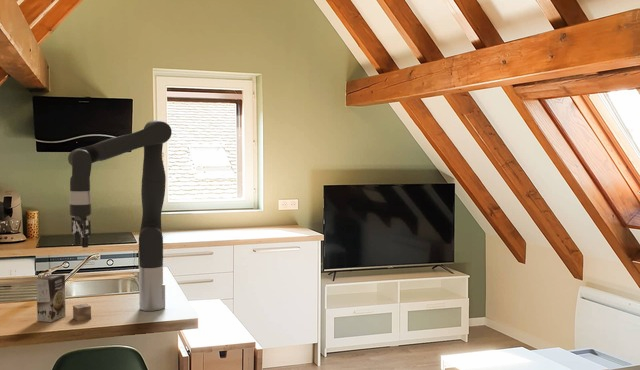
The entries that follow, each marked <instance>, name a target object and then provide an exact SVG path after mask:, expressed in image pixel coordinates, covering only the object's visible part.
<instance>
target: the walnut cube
mask: <svg viewBox="0 0 640 370" xmlns="http://www.w3.org/2000/svg"><path fill="white" fill-rule="evenodd" d="M72 319H73V320H75V321H77V322H81V321H89V320H92V306H91V305H89V304H88V303H82V304H75V305H72Z"/></svg>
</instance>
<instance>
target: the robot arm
mask: <svg viewBox="0 0 640 370" xmlns="http://www.w3.org/2000/svg"><path fill="white" fill-rule="evenodd" d="M171 136H172V128H171V126H170V124H168V123H167V122H166V121H164V120H163V121H162V120H150V121H147V123H146V124H145V125H144V127H143V129H140V130H139V131H136V132H131V133H129V134H123V135H120V136H116V137H115V136H114V137H112V138H108V139H105V140H101V141H99V142H96V143H94V144H91V145H87V146H83V147H79V148H76V149H74V150H72V151H71V152H70V153H69V154H68V156H67V161H68V163H69V164H70V166H71V176H70V180H69V187H70V188H69V215H70V218H71V220H70V221H71V227H70V228H71V231H70V232H71V233H72V235H73V244H74V245H81V248H84V249H85V248H88V247H89V237H91V235H92V231H91V230H92V229H91V220H90V219H87V218H88V217H89V216H91V215H92V194H91V172H92V165H93V163H96V162H103V161H107V160H109V159H111V158H115V157H117V156H120V155H122V154H125V153H128V152H130V151H131V152H132V151H134V150H137V149H140V148H143V163H142V175H141V189H140V191H141V208H142V215H141V224H140V230H139V234H138V266H139V267H138V268H139V270H138V271H139V273H138V275H139V276H138V277H139V278H138V279H139V280H138V281H139V283H138V285H139V286H138V287H139V290H138V291H139V310H141V311H144V312H145V311H146V312H152V311H153V312H154V311H160V310H162V309H165V308H166V285H165V284H164V271H163V270H164V237H163V231H162V211H163V206H164V201H165V195H166V185H167V184H166V181H167V179H166V177H167V176H166V171H165V165H164V161H163V145H164V144H165V143H167V142H168V141H169V140H170V139H171Z"/></svg>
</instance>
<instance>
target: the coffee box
mask: <svg viewBox="0 0 640 370" xmlns="http://www.w3.org/2000/svg"><path fill="white" fill-rule="evenodd" d="M36 313H37V314H36V316H37V317H36V319H37V320H36V321H37V322H46V323H53V322H55V321H57V320H59V319H61V318H64V317H65V316H66V274H58V273H57V274H56V273H55V274H53V273H52V274H48V275H44V276H41V277H39V278H36Z"/></svg>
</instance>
